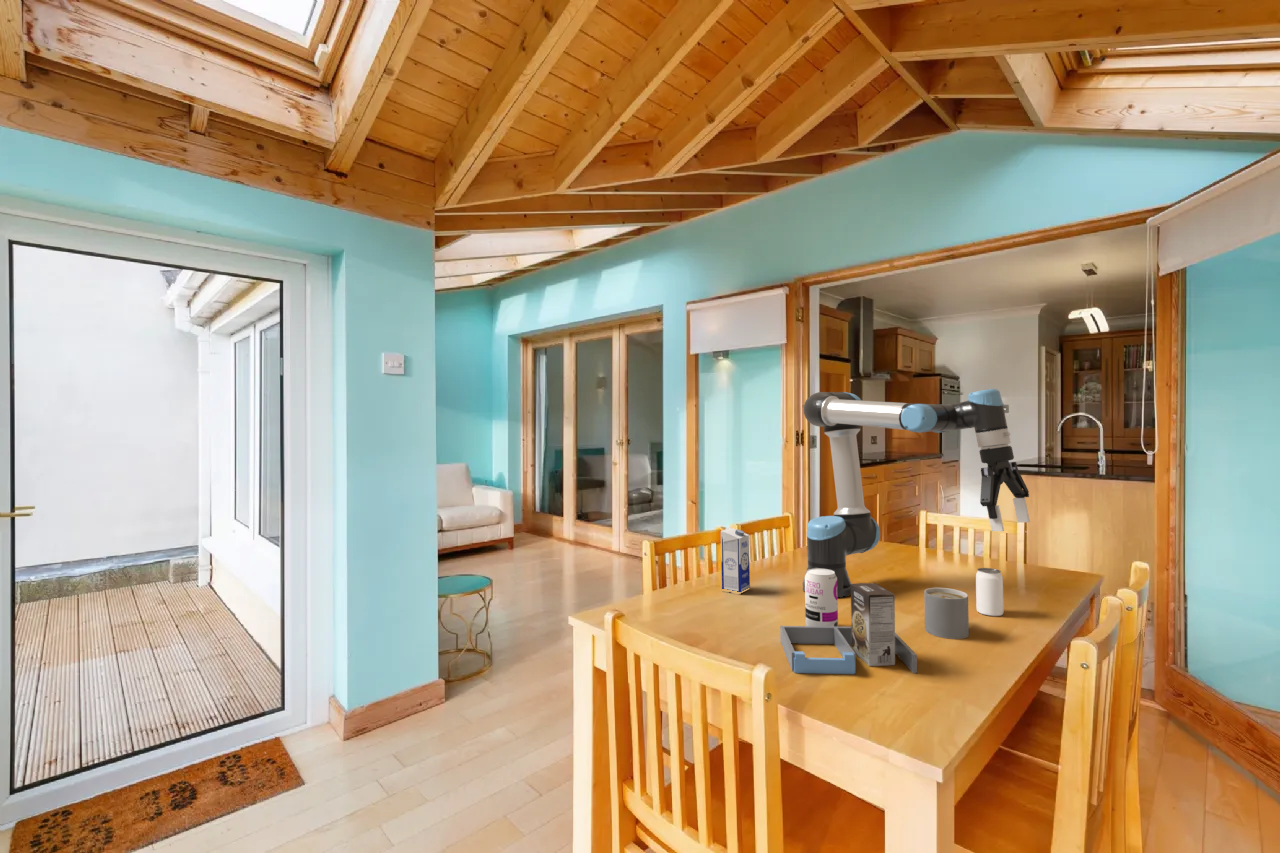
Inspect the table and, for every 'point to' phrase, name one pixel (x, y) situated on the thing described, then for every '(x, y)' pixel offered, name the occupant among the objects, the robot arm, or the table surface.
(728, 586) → the milk carton
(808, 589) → the supplement can
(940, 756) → the table surface
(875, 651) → the coffee box
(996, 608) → the can
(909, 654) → the divider rack
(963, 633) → the coffee mug
